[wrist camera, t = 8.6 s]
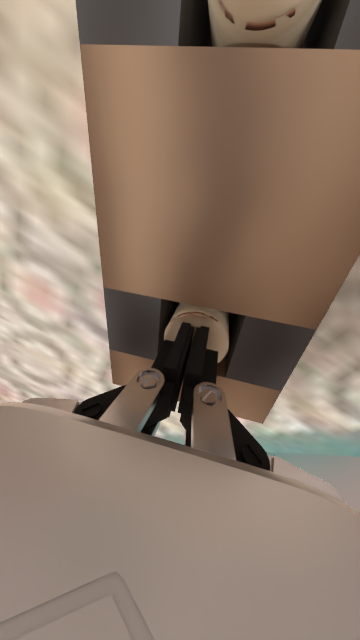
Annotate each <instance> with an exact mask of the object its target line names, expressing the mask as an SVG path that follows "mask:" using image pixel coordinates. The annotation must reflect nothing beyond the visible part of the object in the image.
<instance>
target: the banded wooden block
mask: <svg viewBox="0 0 360 640" xmlns="http://www.w3.org/2000/svg"><path fill="white" fill-rule="evenodd" d="M76 9H77V19H78V29H79V39H80V50H81V60H82V70H83V81H84V91H85V101H86V112H87V122H88V132H89V143H90V153H91V163H92V174H93V184H94V194H95V204H96V215H97V225H98V235H99V246H100V256H101V266H102V277H103V287H104V297H105V308H106V318H107V328H108V339H109V349H110V359H111V369H112V380H113V383H114V384H117V385H121V386H124V385H127V384H128V383H129V382H130V380H131V379H132V378H133V377H134V375H135V374H136V373H137V372H138V371H140V370H142V369H145V368H151V367H152V365H153V363H154V361H155V359H156V357H157V355H158V353H159V351H160V349H161V347H162V345H163V343H164V332H165V329H166V327H167V326H168V324H169V322H170V320H171V318H172V316H173V314H174V313H175V311H176V309H177V307H178V305H179V303H185V304H190V305H195V306H200V307H205V308H210V309H215V310H220V311H225V312H229V347H228V351H227V354H226V356H225V357H224V358H223V359H222V360H221V361H220V362H219V363H217V378H216V385H218V386H219V387H220V388H221V389H222V390H223V392H224V393H225V396H226V402H227V408H228V409H229V410H230V412H231V413H232V414H233V415H234V416H236V417H240V418H244V419H247V420H251V421H255V422H259V423H262V424H263V422H264V421H265V419H266V417H267V415H268V414H269V412H270V410H271V408H272V407H273V405H274V403H275V401H276V400H277V398H278V396H279V394H280V393H281V391H282V389H283V387H284V386H285V384H286V382H287V380H288V379H289V377H290V375H291V373H292V372H293V370H294V368H295V366H296V365H297V363H298V361H299V359H300V358H301V356H302V354H303V352H304V351H305V349H306V347H307V345H308V344H309V342H310V340H311V338H312V337H313V335H314V333H315V331H316V330H317V328H318V326H319V324H320V323H321V321H322V319H323V317H324V316H325V314H326V312H327V310H328V309H329V307H330V305H331V303H332V302H333V300H334V298H335V296H336V295H337V293H338V291H339V289H340V288H341V286H342V284H343V282H344V281H345V279H346V277H347V275H348V274H349V272H350V270H351V268H352V267H353V265H354V263H355V261H356V260H357V258H358V256H359V254H360V0H322V2H321V4H320V7H319V9H318V11H317V13H316V16H315V18H314V20H313V22H312V25H311V27H310V29H309V31H308V34H307V36H306V38H305V41H304V43H303V45H302V49H299V48H248V47H212V38H211V29H210V19H209V9H208V0H76ZM182 385H183V382H182ZM181 391H182V386H181V390H180V394H179V397H178V401H180V397H181Z"/></svg>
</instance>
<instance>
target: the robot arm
mask: <svg viewBox="0 0 360 640" xmlns="http://www.w3.org/2000/svg"><path fill="white" fill-rule="evenodd" d="M193 330H194V327H193V326H191V324H190V323H186V322H182V324H181V326H180V329H179V331H178V333H177V336H176V338H175V341H170V340H165V341H164V343H163V345H162V347H161V349H160V351H159V353H158V355H157V357H156V359H155V361H154V363H153V365H152V367H151V368H145V369H142V370H140V371H138V372H137V373H136V374H135V375H134V377H133V378H132V379H131V380H130V382H129V383H128V384H127V385H124V386H121V387H119V388H116V389H113V390H111V391H108V392H105V393H103V394H100V395H97V396H95V397H92V398H89V399H87V400H85V401H83V402H78V400H72V399H50V398H31V399H28V400H25V401H23V402H22V403H20V402H6V403H0V640H360V512H358V511H357V510H355V509H354V508H352V507H351V506H349V505H347V504H346V503H345V502H344V500H343V499H342V497H341V496H340V494H339V493H338V492H337V491H336V490H335V489H334V488H333V487H332V486H331V485H329V484H328V483H326V482H325V481H323V480H321V479H319V478H317V477H315V476H314V475H311V474H310V473H308V472H306V471H304V470H302V469H300V468H298V467H296V466H294V465H292V464H290V463H288V462H286V461H284V460H282V459H280V458H279V457H277V456H275V455H274V456H273V457H271V456H269V455H267V453H266V452H265V450H264V449H263V448H262V446H261V445H260V444H259V443H258V442H257V441H256V440H255V439H254V437H253V436H252V435H251V434H250V433H249V432H248V431H247V430H246V428H245V427H244V426H243V425H242V424H241V423H240V422H239V421H238V419H237V418H236V417H235V416H234V415H233V414H232V413H231V412H230V410H229V409H228V408H227V402H226V396H225V393H224V392H223V390H222V389H221V388H220V387H219V386H218V385H216V378H217V363H218V351H214V350H210V349H206V347H207V341H208V334H209V327H205V326H201V327H200V328H198V327H197V328H196V332H195V336H194V339H193V343H192V347H191V342H192V336H193ZM190 347H191V351H190ZM189 353H190V354H189ZM182 382H183V385H182ZM181 386H182V391H181V397H180V402H179V408H178V413H181V418H180V422H181V423H182V425H183V427H184V428H185V435H184V445H182V444H178V443H175V442H171V441H168V440H165V439H161V438H158V437H154V435H155V433H156V431H157V429H158V427H159V425H160V421H162V420H164V419H165V418H167V417H169V416H170V412H171V411H174V412H175V409H176V405H177V401H178V397H179V394H180V390H181Z"/></svg>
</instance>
